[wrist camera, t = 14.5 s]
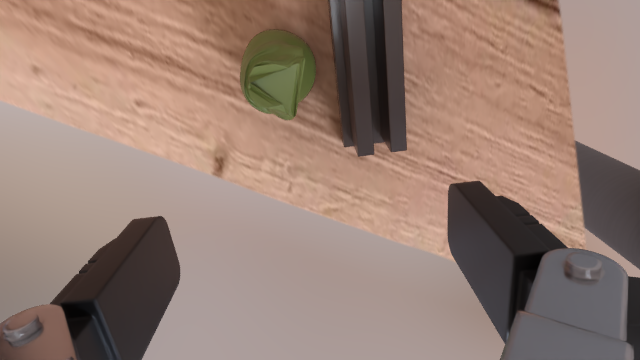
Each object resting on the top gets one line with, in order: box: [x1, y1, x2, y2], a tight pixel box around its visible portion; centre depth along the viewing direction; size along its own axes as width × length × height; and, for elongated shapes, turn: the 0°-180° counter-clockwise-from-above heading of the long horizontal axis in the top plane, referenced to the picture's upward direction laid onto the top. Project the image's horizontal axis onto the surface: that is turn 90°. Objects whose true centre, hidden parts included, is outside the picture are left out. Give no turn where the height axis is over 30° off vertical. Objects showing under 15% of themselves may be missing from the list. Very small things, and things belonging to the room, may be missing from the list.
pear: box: [240, 29, 316, 120], centre depth 27 cm, size 6×5×10 cm
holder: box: [328, 0, 407, 156], centre depth 29 cm, size 5×14×6 cm, turn 7°
